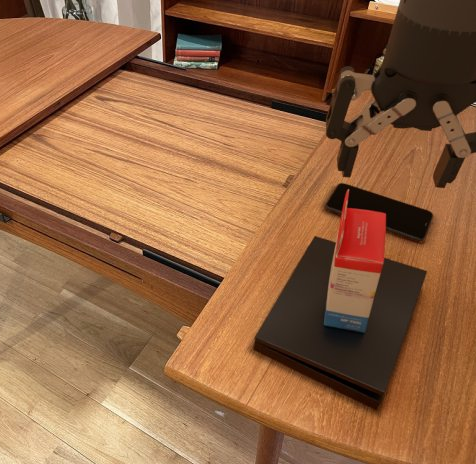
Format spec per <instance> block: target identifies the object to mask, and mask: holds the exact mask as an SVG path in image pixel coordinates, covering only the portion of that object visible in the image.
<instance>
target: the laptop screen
mask: <svg viewBox="0 0 476 464" xmlns="http://www.w3.org/2000/svg"><path fill="white" fill-rule="evenodd" d="M335 245H336V241H333V240H330V239H327V238H323V237H320V236H317V235H314V236H313V238H312V239H311V241H310V243H309V245H308V246H307V248H306V250H305V251H304V253H303V255H302V257H301V258H300V260H299V262H298V263H297V265H296V267H295V269H294V270H293V271H292V273H291V275H290V277H289V278H288V280H287V282H286V284H285V285H284V287H283V288H282V290H281V292H280V294H279V295H278V297H277V299H276V301H275V302H274V304H273V306H272V307H271V309H270V311H269V313H268V314H267V315H266V317H265V319H264V321H263V322H262V324H261V326H260V328H259V329H258V331H257V333H256V334H255V336H254V342H255V341H257V342H259V343H261V344H263V345H266V346H268V347H270V348H273V349H275V350H277V351H280V352H282V353H284V354H287V355H289V356H291V357H294V358H296V359H298V360H301V361H303V362H305V363H307V364H310V365H312V366H314V367H317V368H319V369H321V370H324V371H326V372H328V373H331V374H333V375H335V376H338V377H340V378H342V379H344V380H347V381H349V382H351V383H354V384H356V385H358V386H361V387H363V388H365V389H368V390H370V391H372V392H375V393H377V394H379V395H382V396H383V397H385V395H386V392H387V389H388V386H389V383H390V380H391V377H392V374H393V372H394V368H395V366H396V363H397V360H398V357H399V354H400V352H401V349H402V345H403V343H404V341H405V337H406V334H407V331H408V329H409V326H410V323H411V321H412V317H413V314H414V311H415V308H416V306H417V303H418V301H419V297H420V294H421V292H422V289H423V286H424V282H425V280H426V277H427V273H428V270H425V269H422V268H418V267H415V266H412V265H409V264H406V263H402V262H399V261H396V260H394V259H390V258H387V257H384V264H383V267H382V270H381V274H380V278H379V281H378V285H377V288H376V292H375V296H374V300H373V304H372V307H371V311H370V315H369V319H368V323H367V327H366V331H365V333H363V332H358V331H352V330H347V329H341V328H336V327H331V326H325V325H324V318H325V310H326V301H327V293H328V285H329V278H330V272H331V266H332V261H333V256H334V250H335Z"/></svg>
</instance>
